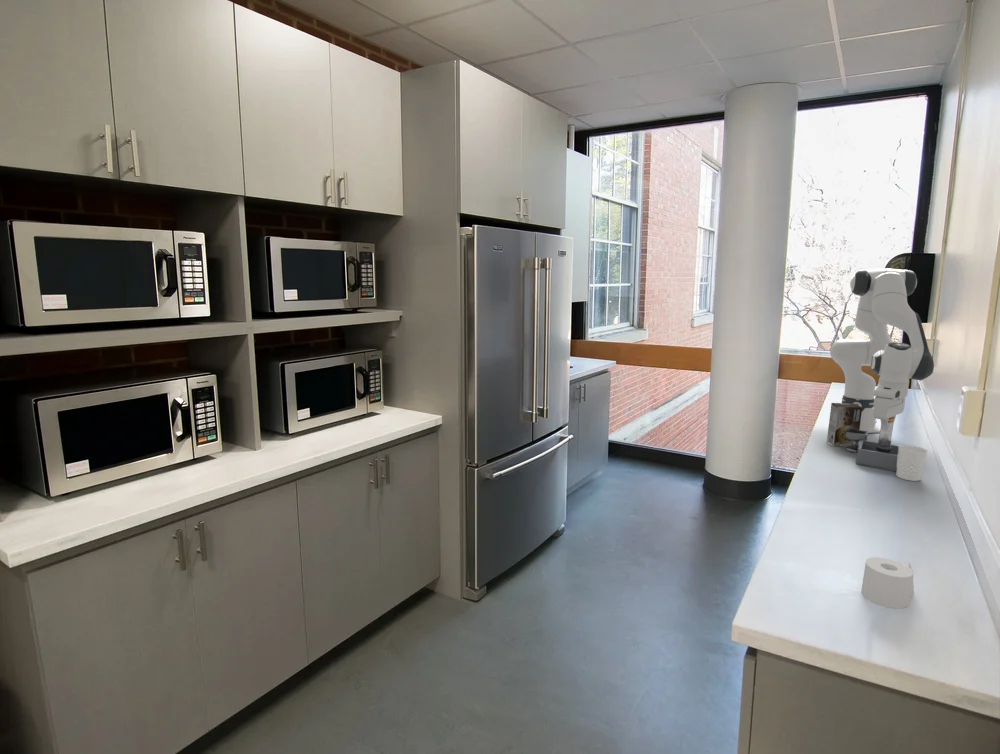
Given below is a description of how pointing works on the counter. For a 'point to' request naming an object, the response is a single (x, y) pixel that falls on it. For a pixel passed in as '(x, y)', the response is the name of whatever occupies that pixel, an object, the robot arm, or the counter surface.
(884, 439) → the gold-capped metal cylinder
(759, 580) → the counter surface
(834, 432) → the coffee box
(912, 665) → the counter surface
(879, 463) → the bin
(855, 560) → the counter surface
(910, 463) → the white cup
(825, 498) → the counter surface
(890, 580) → the toilet paper
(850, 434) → the grey capsule holder
